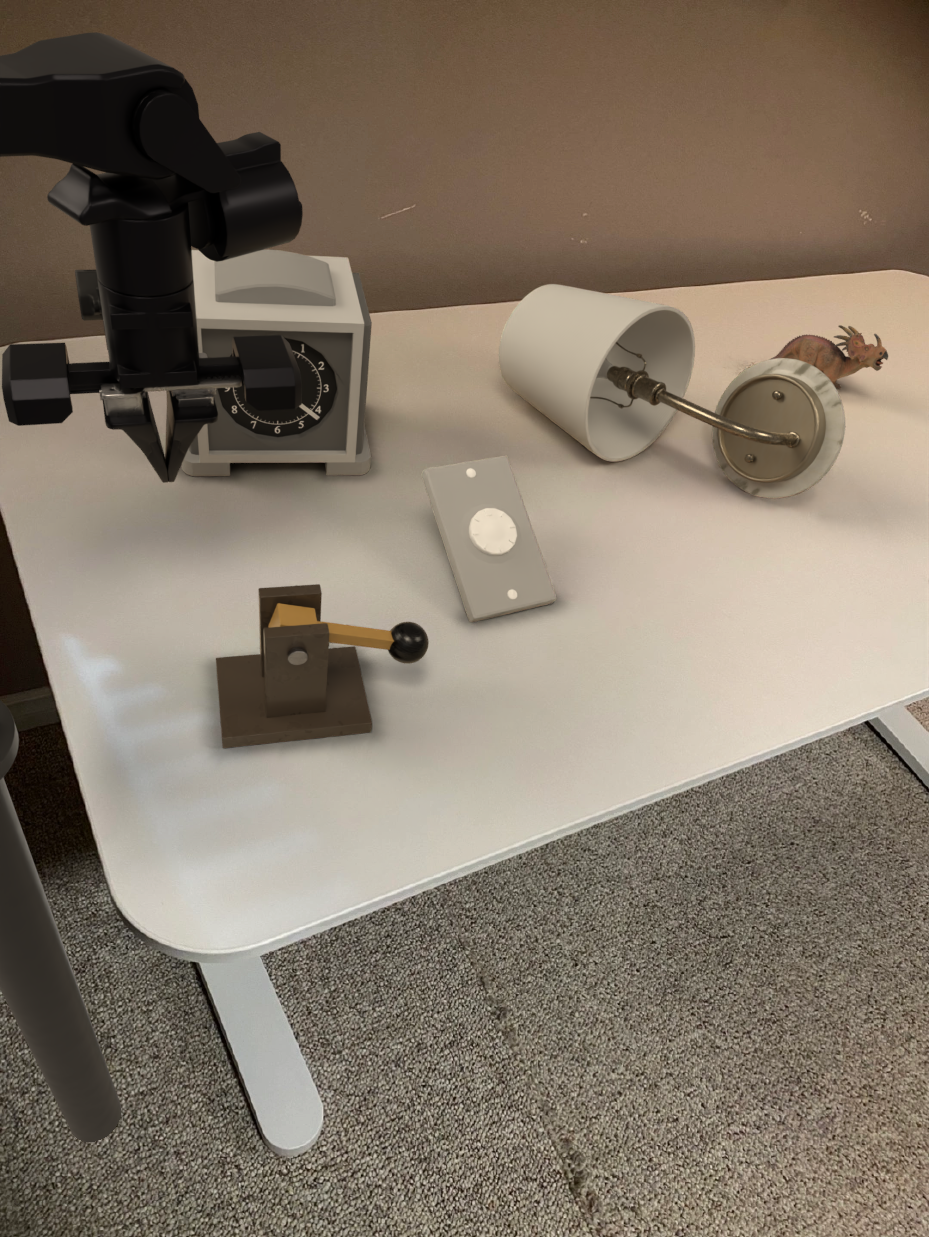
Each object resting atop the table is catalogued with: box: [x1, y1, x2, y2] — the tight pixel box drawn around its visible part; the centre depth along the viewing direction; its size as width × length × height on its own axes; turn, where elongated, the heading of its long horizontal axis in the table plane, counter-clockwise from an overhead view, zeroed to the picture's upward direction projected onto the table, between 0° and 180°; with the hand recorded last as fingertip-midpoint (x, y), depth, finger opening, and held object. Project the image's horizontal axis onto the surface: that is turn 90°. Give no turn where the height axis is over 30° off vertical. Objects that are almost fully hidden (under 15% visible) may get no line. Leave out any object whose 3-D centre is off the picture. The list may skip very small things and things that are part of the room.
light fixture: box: [498, 283, 846, 500], centre depth 97 cm, size 17×19×34 cm
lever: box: [268, 603, 430, 665], centre depth 69 cm, size 12×3×3 cm, turn 104°
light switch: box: [420, 455, 558, 623], centre depth 85 cm, size 8×6×14 cm
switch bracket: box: [215, 583, 373, 749], centre depth 69 cm, size 11×8×10 cm
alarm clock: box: [181, 249, 373, 477], centre depth 90 cm, size 18×13×18 cm
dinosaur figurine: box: [768, 324, 889, 389], centre depth 117 cm, size 14×6×9 cm, turn 75°
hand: (167, 479), depth 69 cm, fingers closed
